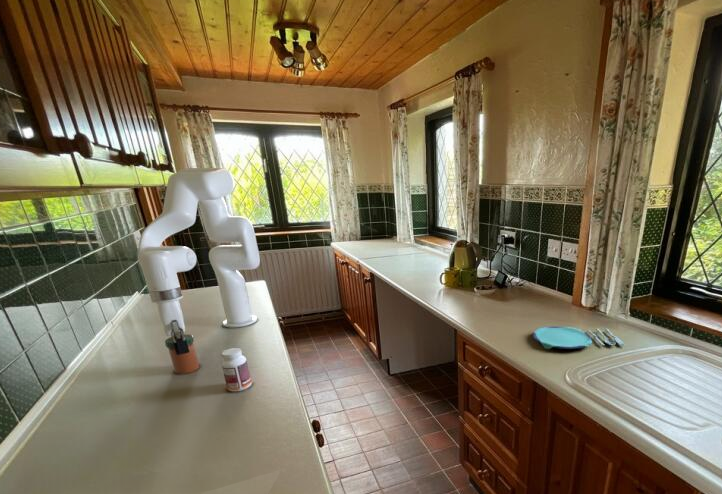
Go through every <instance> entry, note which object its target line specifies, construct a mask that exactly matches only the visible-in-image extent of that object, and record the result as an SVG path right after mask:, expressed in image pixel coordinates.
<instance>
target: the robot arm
mask: <svg viewBox="0 0 722 494" xmlns="http://www.w3.org/2000/svg"><path fill="white" fill-rule="evenodd" d="M234 189H235V179H234V176H233V174H232V173H231V172H230V170H228V169H227V168H224V167H188V168H182V169H179V170H178V171H177V172H175V173H172V174H171V175H170V176H169V177H168V178H167V184H166V188H165V196H164V201H163V206H162V212H161V214H159V215H158V216H157V217H155V219H153V220H152V221H151V222H150V223H149V224H148V225H147V226H146V227H145V228H144V230H143V231H142V233H141V235H140V237H139V241H138V247H137V262H138V264H139V266H140V268H141V271H142V275H143V278H144V281H145V284H146V288H147V291H148V294H149V297H150V301H151V302H152V304H153V303H154V304H156V305H157V311H158V314H159V317H160V321H161V324H162V327H163V331H164V334H165V336H167V337H168V336H169V335H170V336H171V337H173V340H174V342H173V344H174V347H175V351H176V354H177V355H181V354H185V353H189V348H188V344H187V341H186V340H185V337H184V335H185V332H186V325H185V320H184V315H183V311H182V306H181V303H180V300H181V299H183V298H184V296H183V293H182V288H181V285H180V281H179V277H178V274H177V273H183V272H188V271H190V270H192V269H194V268H195V266H196V265H197V255H196V253H195V251H194V250H193V249H192V248H190V247H188V246H183V245H173V246H171V245H162V244H163V242H164V241H165V240H166V239H168V238H170V236H173V235H174V234H177V233H179V232H181V231H184V230H186V229H188V228H190V227H192V226H193V225H195V223H196V220H197V211H198V206H199V209H200V212H201V217H202V219H203V224H204V227H205V231H206V234H207V237H208V239H209V240H210V241H212V242H213V243H239V244H230V245H229V244H227V245H217V246H214V247H212V248H210V250H209V251H208V259H209V263H210V266H211V268H212V270H213V271H214V275H215V278H216V282H217V286H218V289H219V294H220V298H221V303H222V307H223V311H224V315H225V319H224V320H223V322H222V326H223V327H225V328H241V327H246V326H250V325H252V324H254V323H256V322H257V321H258V317H257V316H256V315H253V313H252V308H251V303H250V298H249V294H248V289H247V284H246V280H245V278H244V276H243V275H242V273H240V272H239V271H242V270H243V271H244V270H255V269H257V268H259V266H260V263H261V256H260V251H259V247H258V242H257V237H256V233H255V228H254V226H253V223H252V222H251V220H250V219H248V217H246V216H239V215H237V216H236V215H235V216H233V215H232V216H231V215H230V213H229V210H228V206H227V204H226V201H225V200H224V197H226V196H229V195H230V194H231V193H233V191H234ZM182 338H183V339H182Z"/></svg>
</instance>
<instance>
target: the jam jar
mask: <svg viewBox="0 0 722 494" xmlns="http://www.w3.org/2000/svg"><path fill="white" fill-rule="evenodd" d="M188 348H189V353H185V354H181V355H177V354H176V351H175V348H167V350H168V353H169V356H170V360H171V363H172V366H173V370H174V374H178V375H184V374H185V375H186V374H189V373H192V372H195V371H197V370H199V368H200V363H199V360H198V356H197V352H196V349H195V345H194V342H193V343H192V344H190V345H188Z"/></svg>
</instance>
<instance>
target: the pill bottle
mask: <svg viewBox="0 0 722 494" xmlns="http://www.w3.org/2000/svg"><path fill="white" fill-rule="evenodd" d="M242 354H243V352H242V349H241V348H239V347H231V348H228V349H225V350H222V351H221V357H222V360H221V361H220V365H221V369H222V374H223V377H224V381H225V383H226V384H225V385H226V389H227V390H228V391H229V392H242V391H244V390H247V389H248V388H250V387H251V386H252V384H253V382H252V377H251V374H250V369H249V365H248V361H247V358H246V356H245V355H242Z"/></svg>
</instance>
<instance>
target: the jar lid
mask: <svg viewBox="0 0 722 494" xmlns="http://www.w3.org/2000/svg"><path fill="white" fill-rule="evenodd" d="M184 337H185V340H186V341H187V344H188V345H190V344H192V343H193V344H194V337H193V335H192V334H185V333H184ZM182 339H183V338H182ZM173 342H174V340H173V337H172V336H171V337H168V338H167V339H165V340H164V343H165V347H166V348H167V349H168V348H175V347H174V344H173Z"/></svg>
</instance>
